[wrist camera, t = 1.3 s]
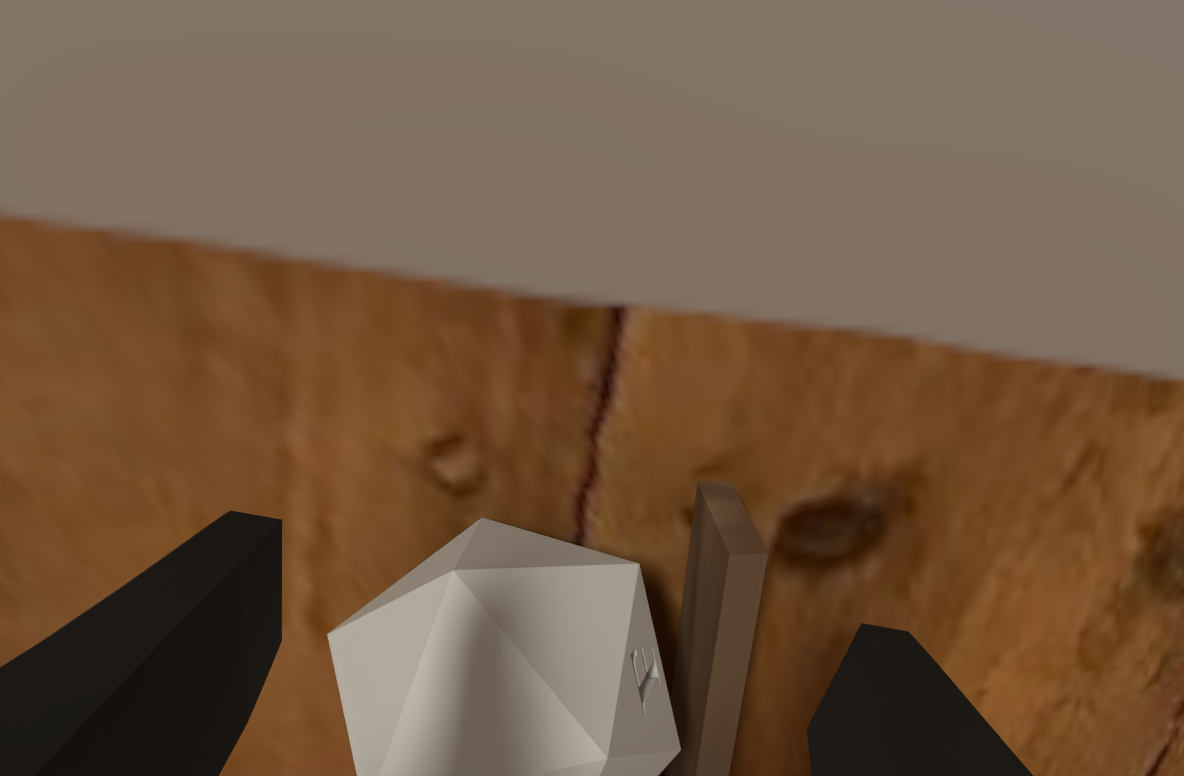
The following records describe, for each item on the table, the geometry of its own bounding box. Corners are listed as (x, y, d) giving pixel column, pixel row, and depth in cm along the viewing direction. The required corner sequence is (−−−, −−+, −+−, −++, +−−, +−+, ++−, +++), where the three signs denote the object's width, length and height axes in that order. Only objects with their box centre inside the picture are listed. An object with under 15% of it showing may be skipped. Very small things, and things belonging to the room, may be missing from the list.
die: (581, 712, 26) (791, 834, 18) (332, 846, 21) (460, 1094, 13) (529, 484, 25) (720, 501, 17) (262, 572, 21) (350, 652, 13)
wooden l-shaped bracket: (210, 831, 26) (159, 959, 22) (133, 484, 20) (49, 578, 16) (702, 804, 27) (731, 918, 24) (754, 481, 22) (802, 565, 18)
